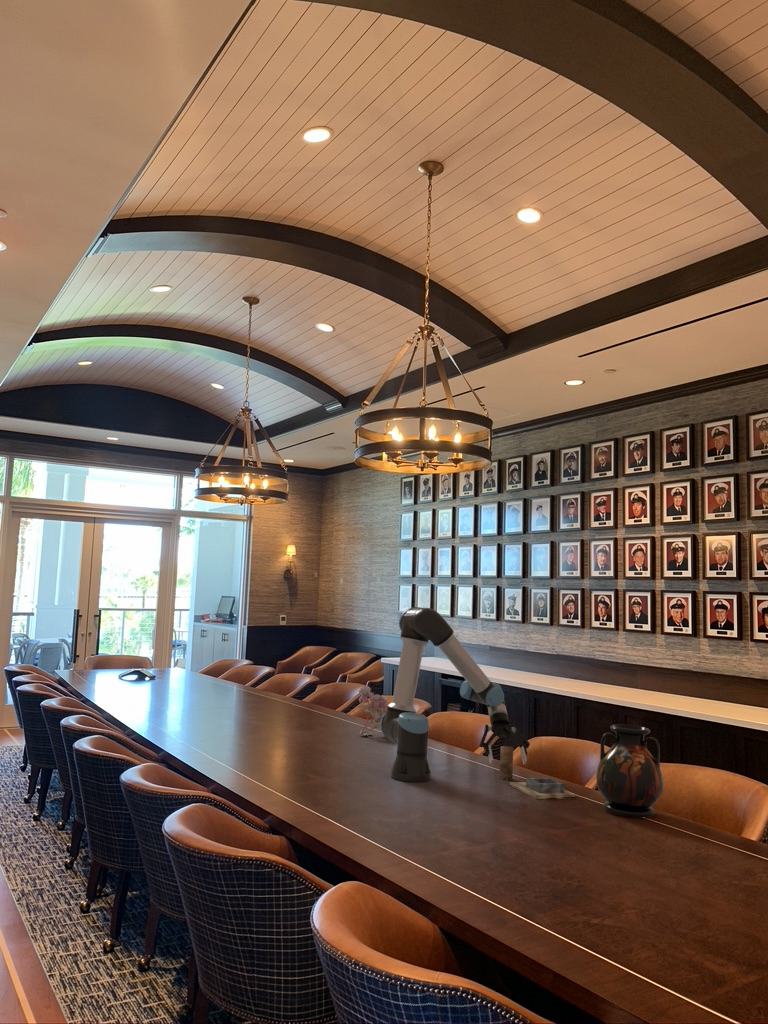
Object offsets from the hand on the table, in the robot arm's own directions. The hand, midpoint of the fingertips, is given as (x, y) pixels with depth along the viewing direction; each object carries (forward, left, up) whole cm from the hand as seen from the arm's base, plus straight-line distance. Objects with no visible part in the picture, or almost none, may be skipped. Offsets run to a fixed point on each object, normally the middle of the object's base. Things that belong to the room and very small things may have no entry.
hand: (508, 762), depth 303 cm
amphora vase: (+19, -51, -7) cm, 55 cm away
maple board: (+3, -21, -6) cm, 22 cm away
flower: (-23, +94, -7) cm, 97 cm away
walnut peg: (-1, 0, -6) cm, 6 cm away
